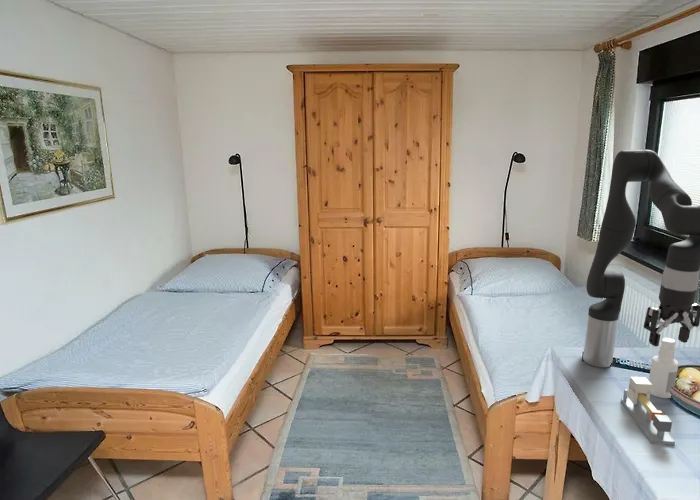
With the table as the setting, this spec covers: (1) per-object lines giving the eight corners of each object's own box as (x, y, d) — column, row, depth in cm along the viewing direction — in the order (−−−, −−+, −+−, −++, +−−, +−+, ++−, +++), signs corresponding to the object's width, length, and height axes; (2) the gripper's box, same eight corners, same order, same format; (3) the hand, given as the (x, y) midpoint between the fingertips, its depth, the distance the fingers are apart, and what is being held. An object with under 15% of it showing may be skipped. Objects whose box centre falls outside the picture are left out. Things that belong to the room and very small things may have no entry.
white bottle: (676, 399, 148) (686, 345, 143) (652, 397, 149) (660, 344, 145) (667, 387, 155) (676, 335, 150) (643, 386, 156) (652, 334, 151)
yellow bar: (629, 394, 145) (631, 385, 144) (640, 395, 145) (641, 386, 144) (658, 431, 128) (659, 421, 127) (670, 432, 128) (672, 422, 127)
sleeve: (627, 396, 145) (630, 376, 143) (642, 396, 145) (645, 377, 143) (633, 403, 141) (636, 383, 140) (648, 404, 141) (652, 384, 139)
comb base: (620, 401, 148) (622, 387, 147) (640, 402, 147) (642, 388, 146) (651, 443, 129) (654, 428, 128) (674, 445, 128) (677, 430, 127)
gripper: (690, 277, 126) (679, 333, 131) (642, 281, 124) (633, 339, 129) (716, 287, 119) (704, 346, 124) (666, 292, 117) (655, 353, 122)
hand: (668, 343), depth 126 cm, fingers open, 8 cm apart
